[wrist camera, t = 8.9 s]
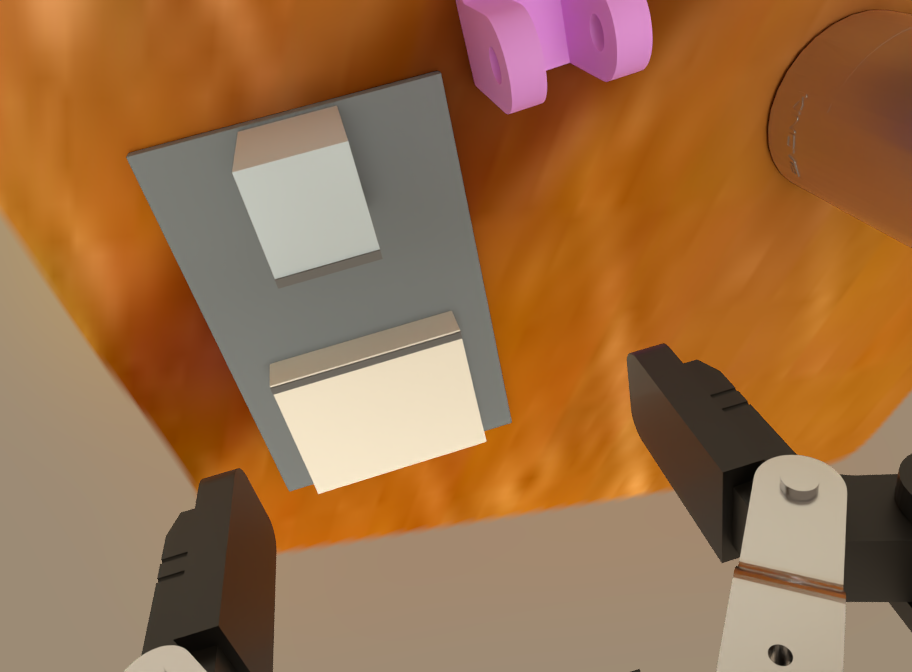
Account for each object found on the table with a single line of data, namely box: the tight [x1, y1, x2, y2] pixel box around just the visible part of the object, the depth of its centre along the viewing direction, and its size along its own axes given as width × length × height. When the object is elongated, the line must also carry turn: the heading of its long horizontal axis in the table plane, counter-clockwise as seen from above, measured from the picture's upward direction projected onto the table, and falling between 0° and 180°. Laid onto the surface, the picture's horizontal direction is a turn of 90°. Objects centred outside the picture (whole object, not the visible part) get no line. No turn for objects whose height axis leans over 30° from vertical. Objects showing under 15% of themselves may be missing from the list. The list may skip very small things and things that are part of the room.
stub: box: [232, 105, 383, 289], centre depth 29 cm, size 4×5×6 cm
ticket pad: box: [126, 71, 512, 494], centre depth 35 cm, size 14×21×3 cm, turn 12°
